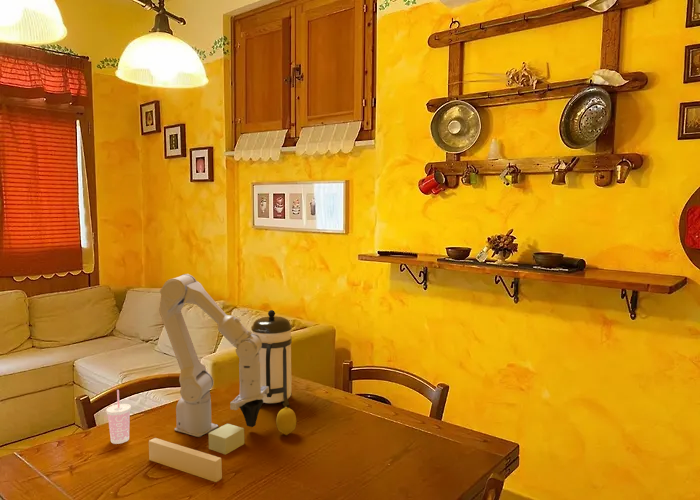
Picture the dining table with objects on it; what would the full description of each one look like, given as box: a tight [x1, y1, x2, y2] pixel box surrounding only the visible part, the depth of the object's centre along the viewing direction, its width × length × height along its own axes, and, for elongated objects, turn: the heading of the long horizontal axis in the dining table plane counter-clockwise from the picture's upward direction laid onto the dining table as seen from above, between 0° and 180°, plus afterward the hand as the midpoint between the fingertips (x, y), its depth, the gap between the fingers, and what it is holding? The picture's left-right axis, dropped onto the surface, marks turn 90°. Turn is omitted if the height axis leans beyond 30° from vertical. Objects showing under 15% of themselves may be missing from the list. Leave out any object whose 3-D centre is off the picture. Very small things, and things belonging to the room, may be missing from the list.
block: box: [207, 423, 245, 455], centre depth 141 cm, size 6×7×4 cm
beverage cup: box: [106, 389, 132, 445], centre depth 144 cm, size 6×6×14 cm
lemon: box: [275, 407, 297, 436], centre depth 147 cm, size 6×6×8 cm
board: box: [148, 437, 223, 483], centre depth 129 cm, size 22×2×5 cm, turn 62°
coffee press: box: [250, 309, 293, 408], centre depth 169 cm, size 17×16×30 cm
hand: (251, 425), depth 149 cm, fingers closed
